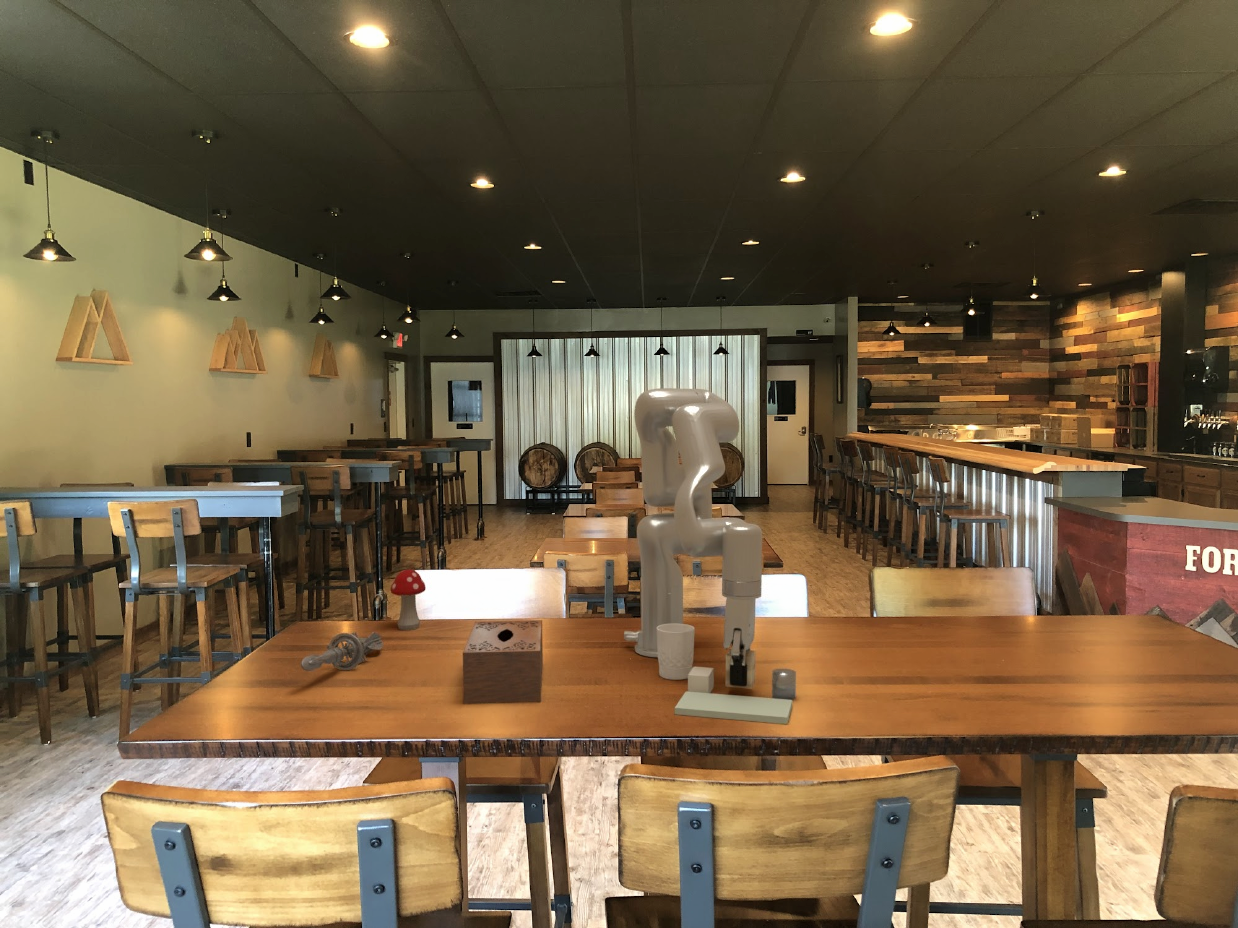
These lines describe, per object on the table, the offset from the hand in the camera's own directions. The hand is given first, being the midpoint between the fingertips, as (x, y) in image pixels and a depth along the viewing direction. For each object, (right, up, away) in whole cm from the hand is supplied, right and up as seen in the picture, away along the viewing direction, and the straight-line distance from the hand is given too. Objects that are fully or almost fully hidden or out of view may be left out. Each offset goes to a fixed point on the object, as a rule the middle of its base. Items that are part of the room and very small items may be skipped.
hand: (740, 679), depth 172 cm
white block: (-7, -3, +2) cm, 8 cm away
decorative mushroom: (-77, 0, +56) cm, 95 cm away
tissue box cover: (-46, -3, +8) cm, 47 cm away
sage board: (-2, -3, -10) cm, 11 cm away
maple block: (0, -1, 0) cm, 1 cm away
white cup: (-12, -2, +12) cm, 17 cm away
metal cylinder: (+8, -3, -3) cm, 9 cm away
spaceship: (-82, -2, +17) cm, 84 cm away
